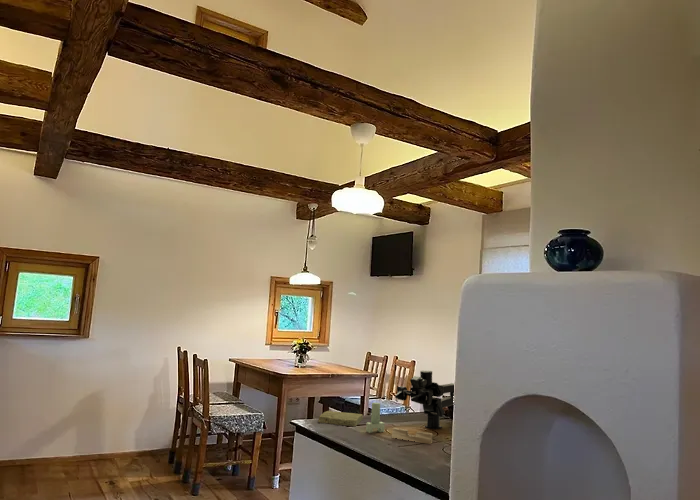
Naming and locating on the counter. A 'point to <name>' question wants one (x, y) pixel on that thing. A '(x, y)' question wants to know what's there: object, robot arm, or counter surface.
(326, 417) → the decorative tile
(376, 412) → the green joystick knob
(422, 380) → the robot arm
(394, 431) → the birch slotted plate
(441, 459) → the counter surface
